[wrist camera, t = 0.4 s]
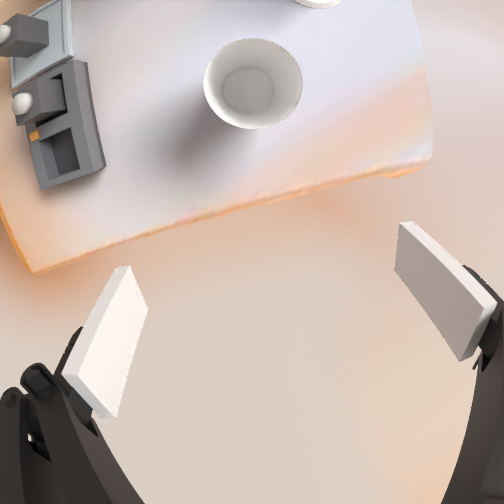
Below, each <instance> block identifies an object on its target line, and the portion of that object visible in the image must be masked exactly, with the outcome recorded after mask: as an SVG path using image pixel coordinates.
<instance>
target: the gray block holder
mask: <svg viewBox="0 0 504 504" xmlns="http://www.w3.org/2000/svg"><path fill="white" fill-rule="evenodd" d="M12 96H13V102H12V111H13V113H14V114H15V117H16V123H17V126H21V125H25V126H26V131H27V136H28V141H29V146H30V150H31V154H32V159H33V163H34V166H35V170H36V174H37V178H38V181H39V185H40V188H41V191H42V190H44V189H47V188H50V187H52V186H55V185H58V184H61V183H64V182H66V181H69V180H72V179H75V178H78V177H81V176H84V175H88V174H91V173H94V172H96V171H98V170H99V169H101V168H103V167H105V166H106V162H105V158H104V154H103V150H102V145H101V141H100V136H99V132H98V127H97V122H96V117H95V111H94V106H93V100H92V94H91V88H90V81H89V74H88V66H87V62H81V61H76V60H72V61H70V62H68V63H66V64H64V65H62V66H60V67H58V68H56V69H55V70H53V71H51V72H49V73H47V74H45V75H44V76H42V77H40V78H38V79H36V80H35V81H33V82H31V83H30V84H28V85H26V86H25V87H23V88H22V89H20V90H18V91H17V92H15V93H14V94H12Z"/></svg>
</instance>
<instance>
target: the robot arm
mask: <svg viewBox="0 0 504 504" xmlns="http://www.w3.org/2000/svg"><path fill="white" fill-rule="evenodd" d="M394 270H395V272H396V273H397V274H398V275H399V277H400V278H401V279H402V281H403V282H404V283H405V285H406V286H407V287H408V288H409V290H410V291H411V292H412V294H413V295H414V296H415V298H416V299H417V301H418V302H419V303H420V304H421V306H422V307H423V309H424V310H425V312H426V313H427V314H428V316H429V317H430V319H431V320H432V321H433V323H434V324H435V326H436V327H437V329H438V330H439V332H440V333H441V335H442V336H443V338H444V339H445V340H446V342H447V344H448V345H449V347H450V348H451V350H452V351H453V353H454V354H455V355H456V357H457V359H458V360H459V362H460V361H462V360H465V359H467V358H469V357H471V356H472V355H473V354H474V352H475V350H476V348H477V346H478V345H479V347H480V348H481V350H482V351H481V353H480V355H479V357H478V359H477V361H476V362H475V364H474V366H473V370H474V369H475V368H476V366H477V365H478V371H477V378H476V385H475V391H474V397H473V402H472V407H471V412H470V416H469V421H468V425H467V429H466V433H465V437H464V440H463V444H462V447H461V451H460V454H459V457H458V461H457V463H456V466H455V469H454V472H453V475H452V478H451V480H450V483H449V485H448V488H447V490H446V493H445V495H444V498H443V500H442V503H441V504H504V301H503V300H502V299H501V298H500V297H499V296H498V295H497V294H496V293H495V291H494V290H493V289H492V288H491V287H490V286H489V285H488V284H486V282H485V281H484V280H483V279H482V278H480V276H479V275H478V274H477V273H476V272H475V271H474V270H472V269H471V268H469V267H467V266H465V265H461V264H460V263H459V262H458V261H456V260H455V259H454V258H453V257H452V256H451V255H450V254H449V253H448V252H447V251H446V250H445V249H443V248H442V247H441V246H440V245H439V244H438V243H437V242H436V241H435V240H434V239H432V238H431V237H430V236H429V235H428V234H427V233H426V232H424V231H423V230H422V229H421V228H420V227H418V226H417V225H416V224H415V223H414V222H413V221H409V222H402V223H399V234H398V244H397V253H396V261H395V269H394ZM147 312H148V307H147V305H146V303H145V301H144V298H143V296H142V294H141V291H140V289H139V287H138V284H137V282H136V280H135V277H134V275H133V272H132V270H131V267H130V265H128V266H122V267H117V268H116V269H115V271H114V273H113V274H112V276H111V278H110V279H109V281H108V283H107V284H106V286H105V288H104V290H103V292H102V293H101V295H100V297H99V299H98V300H97V302H96V304H95V306H94V308H93V310H92V312H91V314H90V315H89V318H88V319H87V321H86V323H85V325H84V327H80V328H79V329H78V330H77V331H76V332H75V333H74V334H73V336H72V338H71V339H70V341H69V343H68V346H67V347H66V350H65V353H64V354H63V356H62V358H61V360H60V362H59V364H58V366H57V368H56V370H55V373H54V375H52V374H51V373H50V371H49V370H48V369H47V368H46V367H45V365H44V364H42V363H35V364H33V365H31V366H29V367H28V368H27V369H26V370H25V371H24V373H23V374H22V376H21V379H20V384H21V385H22V387H23V388H24V389H25V390H26V391H27V392H28V393H29V394H25V395H24V394H23V393H22V392H21V391H20V390H19V389H18V388H16V387H11V388H9V389H7V390H6V391H5V392H4V393H3V395H2V397H1V399H0V504H145V503H144V502H143V501H142V499H141V498H140V497H139V495H138V494H137V492H136V491H135V489H134V488H133V487H132V485H131V483H130V482H129V481H128V479H127V477H126V476H125V474H124V473H123V471H122V469H121V468H120V466H119V464H118V463H117V461H116V459H115V458H114V456H113V454H112V453H111V451H110V449H109V447H108V445H107V444H106V442H105V440H104V438H103V436H102V434H101V432H100V430H99V428H98V427H97V424H96V422H95V421H94V419H93V418H92V417H91V414H92V410H94V411H95V412H96V413H97V414H98V415H99V416H100V417H103V418H113V419H116V418H117V415H118V411H119V407H120V403H121V399H122V395H123V391H124V387H125V383H126V380H127V377H128V373H129V370H130V366H131V363H132V359H133V356H134V353H135V349H136V346H137V343H138V340H139V337H140V333H141V330H142V327H143V324H144V321H145V318H146V315H147ZM28 434H29V435H30V436H31V439H32V440H31V442H30V441H29V440H28Z"/></svg>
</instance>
